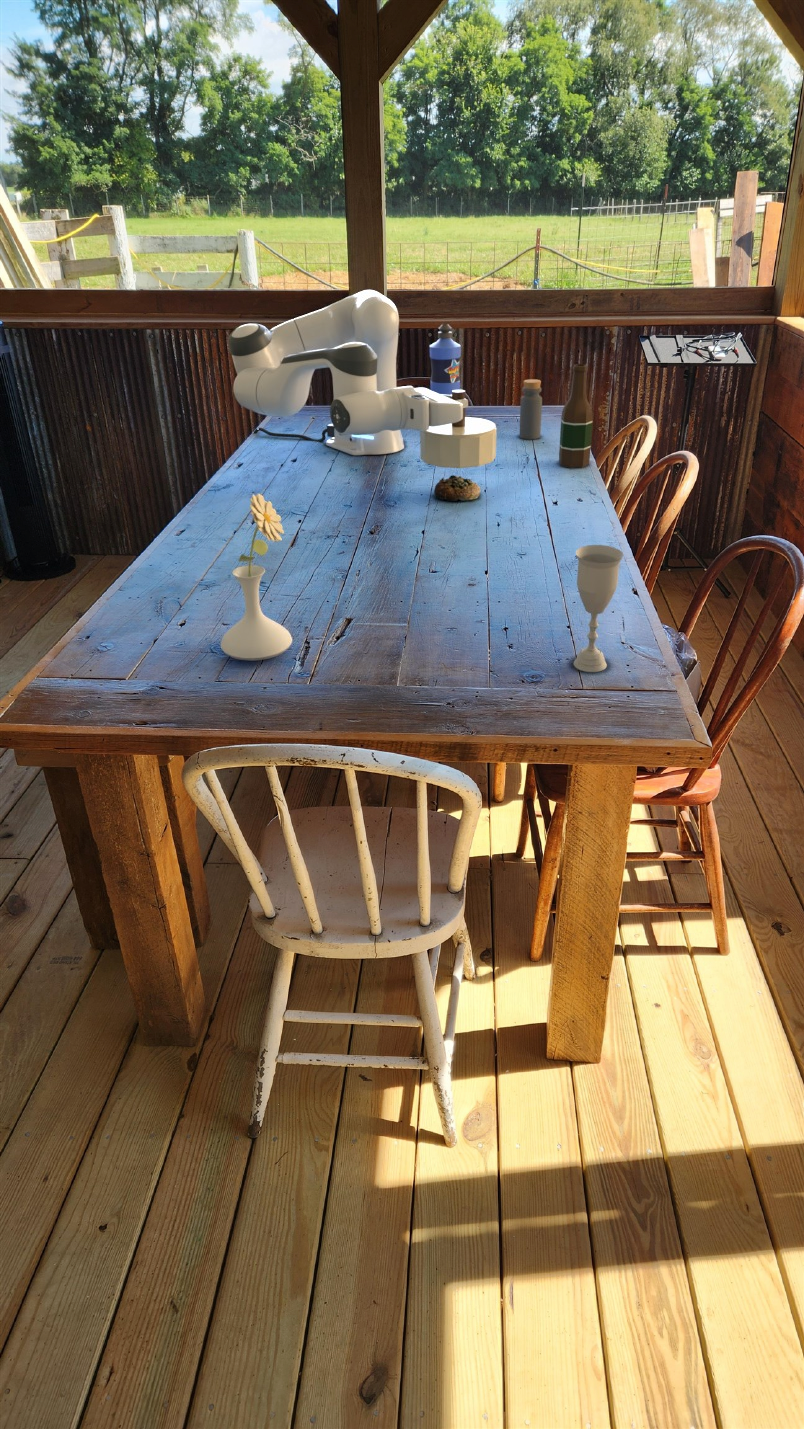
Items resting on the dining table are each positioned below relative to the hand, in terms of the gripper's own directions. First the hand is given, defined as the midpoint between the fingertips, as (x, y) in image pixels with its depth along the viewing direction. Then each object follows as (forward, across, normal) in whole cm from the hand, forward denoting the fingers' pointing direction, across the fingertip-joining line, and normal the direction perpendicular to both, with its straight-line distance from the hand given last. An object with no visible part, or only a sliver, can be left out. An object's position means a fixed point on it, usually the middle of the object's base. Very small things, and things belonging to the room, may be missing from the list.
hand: (462, 400), depth 212 cm
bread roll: (-1, 0, -22) cm, 22 cm away
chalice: (-22, +85, -22) cm, 91 cm away
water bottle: (+35, -79, -21) cm, 89 cm away
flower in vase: (-66, +57, -22) cm, 90 cm away
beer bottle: (+37, -9, -21) cm, 43 cm away
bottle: (+41, -38, -21) cm, 60 cm away
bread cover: (-1, 0, -12) cm, 13 cm away
